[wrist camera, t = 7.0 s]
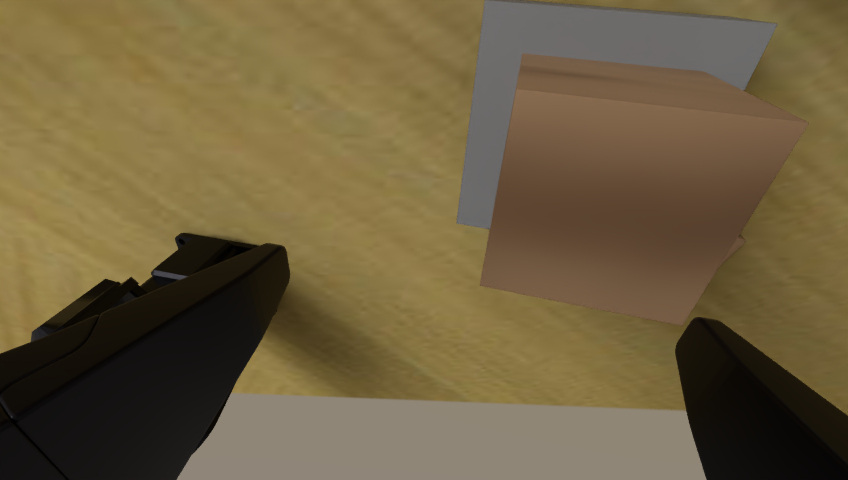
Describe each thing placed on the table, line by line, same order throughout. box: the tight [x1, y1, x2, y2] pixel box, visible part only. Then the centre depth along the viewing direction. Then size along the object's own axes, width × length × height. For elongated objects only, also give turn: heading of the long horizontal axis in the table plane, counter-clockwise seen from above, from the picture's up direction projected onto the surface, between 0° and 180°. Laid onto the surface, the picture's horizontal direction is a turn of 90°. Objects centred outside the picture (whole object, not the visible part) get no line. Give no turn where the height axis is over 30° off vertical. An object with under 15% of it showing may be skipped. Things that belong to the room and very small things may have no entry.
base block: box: [457, 0, 777, 229], centre depth 16 cm, size 9×9×4 cm
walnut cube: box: [480, 53, 809, 326], centre depth 13 cm, size 6×6×6 cm
